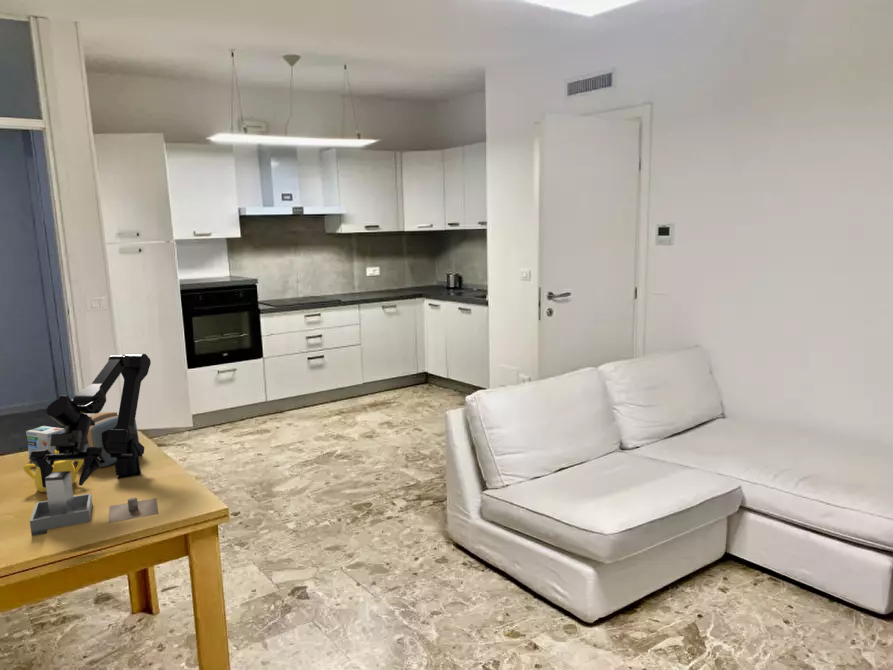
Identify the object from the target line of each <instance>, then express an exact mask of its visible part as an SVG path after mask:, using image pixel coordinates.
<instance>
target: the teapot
mask: <svg viewBox="0 0 893 670" xmlns="http://www.w3.org/2000/svg"><path fill="white" fill-rule="evenodd" d="M57 453H59V451H56V450H55V454H57ZM74 461H78V463H77V466H76V467H75V464H74ZM83 463H84V459H78V460H60V461H54V464H53V465H52V467H53V471H52V472H62V471H70V472H71V480H72V485H73V484H74V483H75V481H76V478H77V473H78V471H79V470H80V469H81V468H82V467H83V466H84V464H83ZM22 467H23V471H24V472H25V473H26V474H27V476H29V477H30V478H32V479H33V480H34V486H35V488H36V490H37V491H38V492H40V493H47V490H46V488H44V487H43V486H42V478H41V471H40V468H39V467H37V466H36V465H35V464H34V463H27V464H24V466H22ZM34 467H36V468H35V473H33V472H32V470H31V468H34Z"/></svg>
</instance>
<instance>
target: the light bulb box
mask: <svg viewBox="0 0 893 670" xmlns="http://www.w3.org/2000/svg"><path fill="white" fill-rule="evenodd" d="M25 433H26V443H27V449H28V457H29V456H30V453H31V452H32V451H34V450H43V449H47V450H48V451H49V452H50V453H51V454H55V446H52V447H51V446H50V443H51V434H62V433H65V428H61V427H53V426H47V425H42V426H39V427H36V428H33V429H29V430H26V431H25ZM28 460H29V461H31V460H30V459H29V458H28ZM31 462H32V461H31Z"/></svg>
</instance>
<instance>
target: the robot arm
mask: <svg viewBox="0 0 893 670" xmlns="http://www.w3.org/2000/svg"><path fill="white" fill-rule="evenodd" d="M107 360H108V361H107V363H105V365H104V366H103V368H102V369H101V370H100V371H99V373H98V374H97V375H96V377H95V378H94V380H93V381H92V383H91V384H90V385H88V386H87V387H85V388H82V389H81V390H80V391H78V392H77V393H76V394H75V395H74V396H73V398H72V399H71V398H70V396H68V395H59V397H58V398H57V399H55V400H54V401H52V402H51V403H50V404H49V405H48V406H47V408H46V414H47V415H48V416H49V417H50V418H51V419H53V421H55V422H57V423H58V424H59V425H60V426H62V427H65V429H64V431H65V433H62V434H51V443H50V446H51V447H52V446H55V450H56V451H59V453H57V454H51V453H50V452H49V451H48V450H47V449H43V450H34V451H32V452H31V453H30V456H29V455H28V460H29V459H30V460H31V462H32V464H35V465H36V466H37V467H39V468H40V471H41V478H42V486H43V487H44V488H46V482H45V478H46V477H47V476H48V475H50V474H51V473H52V471H53V467H52V465H53V464H54V461H60V460H78V459H84V464H83V465H82V470H81V472H80V476H79V480H78V485H79V486H83V485H84V484H85V482H86V481H87V480H88V479H89V478H90V476H91V475H92V474H93V473H95V471H96V470H97V469H99V468H102V467H101V466H102V465H103V464H107V463H108V460H109V454H110V456H111V458H113V457H117V461H115V463H114V468H115V475H116V476H117V479H119V480H120V479H126V478H132V477H137V476H141V473H142V472H141V467H140V466H141V465H140V458H139V457H142V456H143V455H144V454H145V446H144V445H143V444H142V443H140V441H139V442H138V438H139V433H138V434H137V432H138V431H137V432H136V430H135V427H134V423H135V420H136V417H137V416H136V415H137V410H138V402H139V399H140V397H139V396H140V391H141V386H142V385H141V384H142V381H143V380H144V379H145V378H146V376H147V375H148V374H149V369H150V367H151V363H152V362H151V359H150V357H149V356H148V355H147V354H146V353H125V354H113V355H110V356H109V357H108V359H107ZM120 375H121V376H122V378H123V385H122V391H121V397H120V402H119V403H120V404H119V410H118V413H117V415H118V420H117V425H116V426H115V427H114V429H110V430H109V431H108V438H107V441H106V443H107V449H108V451H109V454H108V453H107V452H106V451H105V450H104V448H103V447H102V446H99V447H88V448H87V450H86V452H83V451H84V447H85V444H88V440H87V435H88V431H89V427H90V426H94V425H95V422H94V421H93V420H92V417H89V416H90V415H89V414H91V415H93V414H97V413H101V411H102V410H103V408H104V406H105V404H106V403H107V396H106V395H107V394H108V392H109V390H110V389H111V388H112V386H113V385H114V383H115V382H116V381H117V379H118V378H119V377H120ZM30 460H29V461H30ZM37 467H36V468H37Z"/></svg>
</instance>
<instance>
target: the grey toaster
mask: <svg viewBox="0 0 893 670" xmlns="http://www.w3.org/2000/svg"><path fill="white" fill-rule="evenodd" d="M88 416H89V417H92V420H93V421H94V422H95V425H94V426H90V427H89V431H88V435H87V440H88V444H85V447H84V451H83V452H86V450H87V448H88V447H99V446H102V447H103V448H104V450H105V451H106V452H107V453H108V454H109V451H108V449H107V443H106V441H107V438H108V431H109V430H110V429H114V427H115V426H116V425H117V420H118V412H115V411H105V412H104V411H103V412H99V413H96V414H91V415H88ZM134 427H135V430H136V432H137V434H138V435H139V433H138V428H137V427H138V425H137V422H136V419H135V423H134ZM138 442H139V443H140V439H139V437H138ZM115 461H117V457H113V458H111V456H110V454H109V460H108V463H107V464H103V465H102V466H101V467H100V468H105V467H108V466H110V465H113V464H114V465H115ZM73 463H77V464H78V461H73ZM83 465H84V463H83Z"/></svg>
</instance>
